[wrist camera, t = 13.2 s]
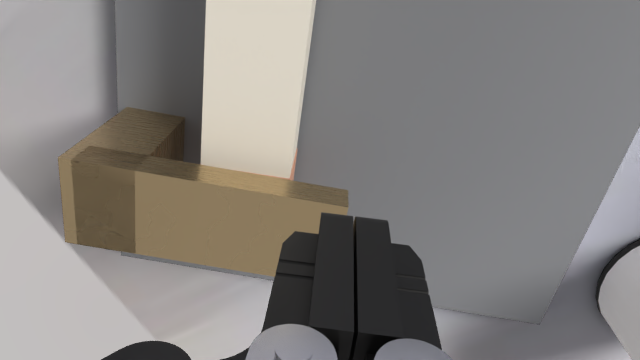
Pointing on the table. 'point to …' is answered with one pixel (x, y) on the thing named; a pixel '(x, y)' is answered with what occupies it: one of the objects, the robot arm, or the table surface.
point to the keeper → (180, 199)
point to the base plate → (437, 126)
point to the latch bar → (254, 84)
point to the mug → (622, 297)
